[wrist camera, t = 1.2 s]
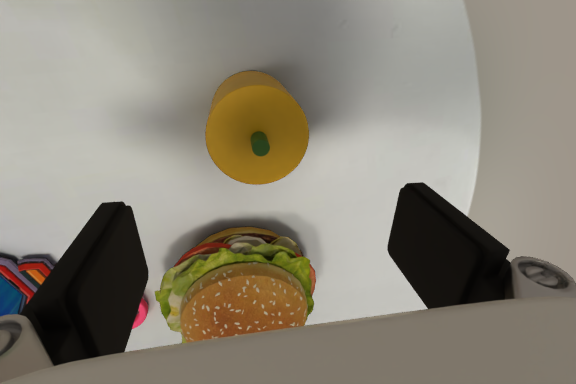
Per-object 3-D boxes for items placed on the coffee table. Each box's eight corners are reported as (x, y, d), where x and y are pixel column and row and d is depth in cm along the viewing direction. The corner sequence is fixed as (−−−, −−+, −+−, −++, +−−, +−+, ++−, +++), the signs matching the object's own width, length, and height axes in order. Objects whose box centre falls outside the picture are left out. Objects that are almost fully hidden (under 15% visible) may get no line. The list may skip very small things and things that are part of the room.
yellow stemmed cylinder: (207, 70, 21) (196, 90, 15) (293, 70, 22) (319, 89, 16) (215, 152, 24) (209, 200, 18) (290, 150, 25) (312, 193, 19)
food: (163, 210, 26) (138, 277, 19) (318, 218, 29) (345, 277, 22) (166, 319, 32) (148, 399, 25) (293, 315, 35) (308, 386, 28)
